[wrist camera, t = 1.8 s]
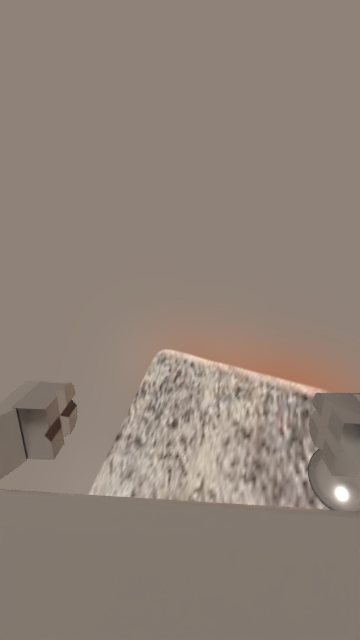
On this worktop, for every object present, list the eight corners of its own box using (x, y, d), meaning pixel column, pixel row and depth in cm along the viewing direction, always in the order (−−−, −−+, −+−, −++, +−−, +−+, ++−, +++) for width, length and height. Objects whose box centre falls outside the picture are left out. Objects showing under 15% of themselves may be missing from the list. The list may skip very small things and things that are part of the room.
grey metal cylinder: (359, 452, 29) (355, 434, 22) (392, 508, 25) (398, 507, 19) (313, 466, 30) (295, 453, 23) (338, 521, 27) (326, 524, 20)
